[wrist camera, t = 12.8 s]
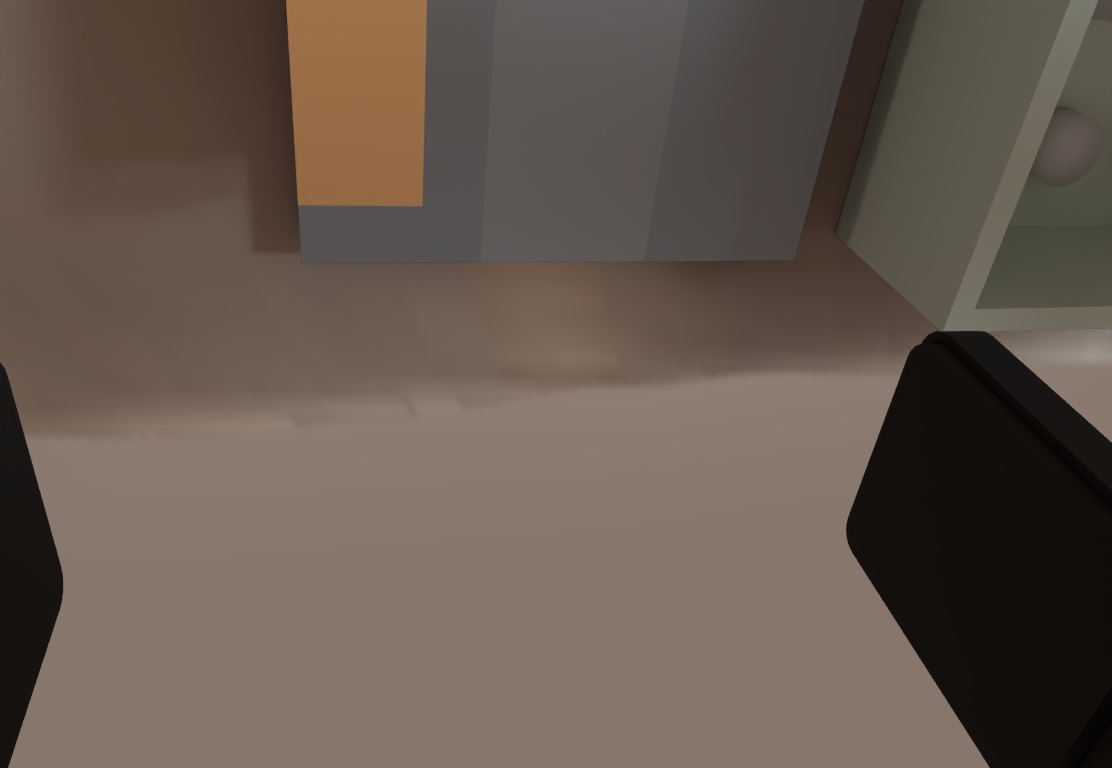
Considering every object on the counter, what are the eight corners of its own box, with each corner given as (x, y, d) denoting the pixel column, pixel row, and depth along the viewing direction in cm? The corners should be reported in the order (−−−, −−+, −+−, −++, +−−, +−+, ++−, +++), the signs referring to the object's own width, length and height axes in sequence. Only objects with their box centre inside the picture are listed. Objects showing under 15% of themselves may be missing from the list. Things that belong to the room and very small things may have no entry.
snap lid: (885, -206, 26) (1026, -195, 20) (772, 238, 33) (856, 326, 28) (272, -286, 22) (260, -298, 17) (302, 238, 29) (299, 339, 24)
